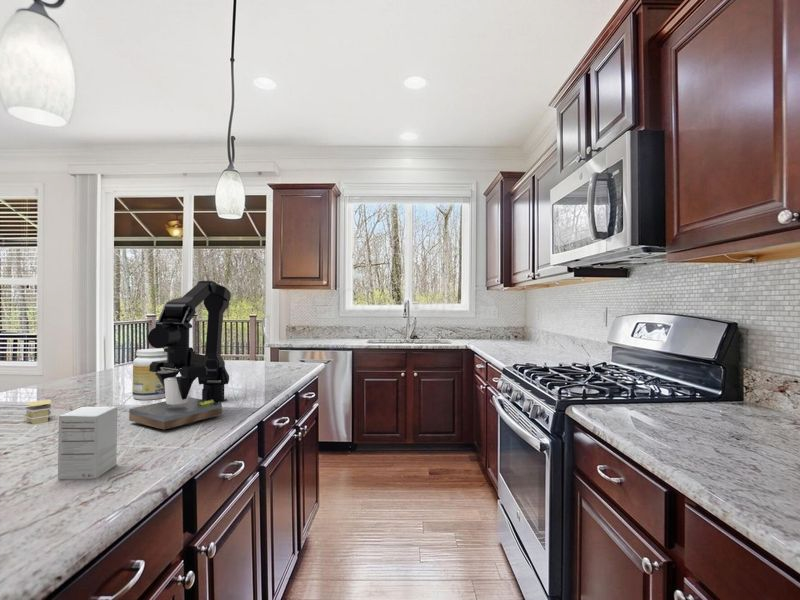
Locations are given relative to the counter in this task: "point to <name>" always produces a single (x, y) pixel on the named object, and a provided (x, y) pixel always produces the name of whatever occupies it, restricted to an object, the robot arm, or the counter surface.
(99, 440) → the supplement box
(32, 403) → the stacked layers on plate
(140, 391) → the supplement tub
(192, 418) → the brown wooden board
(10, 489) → the counter surface
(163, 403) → the levelling plate
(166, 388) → the white cup
